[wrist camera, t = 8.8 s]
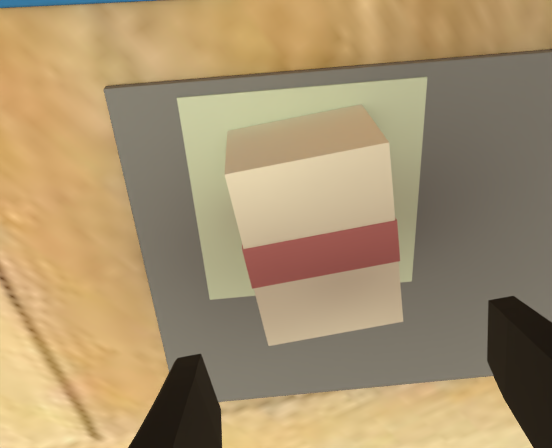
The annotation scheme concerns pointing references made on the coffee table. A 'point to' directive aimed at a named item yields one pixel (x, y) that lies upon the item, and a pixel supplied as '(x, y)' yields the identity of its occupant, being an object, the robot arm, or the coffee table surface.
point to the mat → (407, 204)
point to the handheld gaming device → (55, 2)
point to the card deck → (317, 223)
